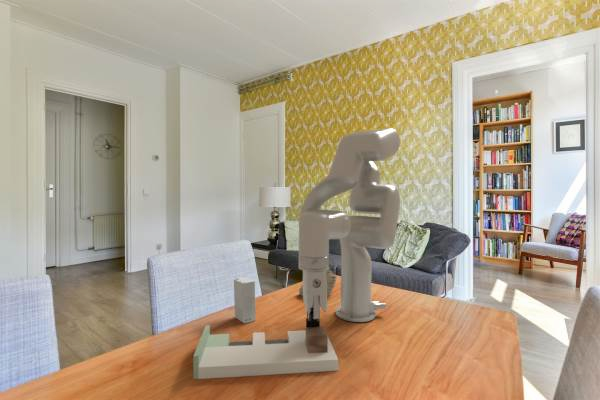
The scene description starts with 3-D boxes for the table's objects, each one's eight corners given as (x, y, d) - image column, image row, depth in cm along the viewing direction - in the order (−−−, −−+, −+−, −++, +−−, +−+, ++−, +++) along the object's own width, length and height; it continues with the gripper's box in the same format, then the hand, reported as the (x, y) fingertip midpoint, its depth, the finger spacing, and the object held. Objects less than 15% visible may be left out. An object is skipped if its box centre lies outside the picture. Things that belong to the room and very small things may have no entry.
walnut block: (324, 342, 78) (324, 326, 78) (327, 352, 73) (327, 335, 73) (305, 343, 77) (305, 327, 77) (308, 353, 73) (308, 336, 73)
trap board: (324, 338, 85) (324, 320, 85) (338, 370, 70) (338, 348, 70) (205, 344, 82) (205, 325, 81) (193, 379, 67) (193, 356, 67)
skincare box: (256, 320, 97) (256, 281, 96) (243, 324, 94) (243, 283, 93) (246, 314, 101) (246, 276, 101) (233, 317, 99) (233, 278, 98)
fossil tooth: (298, 296, 122) (335, 290, 126) (302, 301, 116) (340, 294, 120) (295, 266, 122) (332, 261, 126) (299, 270, 116) (338, 264, 119)
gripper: (335, 269, 72) (333, 349, 73) (323, 255, 87) (322, 321, 88) (302, 270, 71) (301, 350, 72) (295, 256, 86) (294, 322, 87)
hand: (312, 334), depth 80 cm, fingers closed
